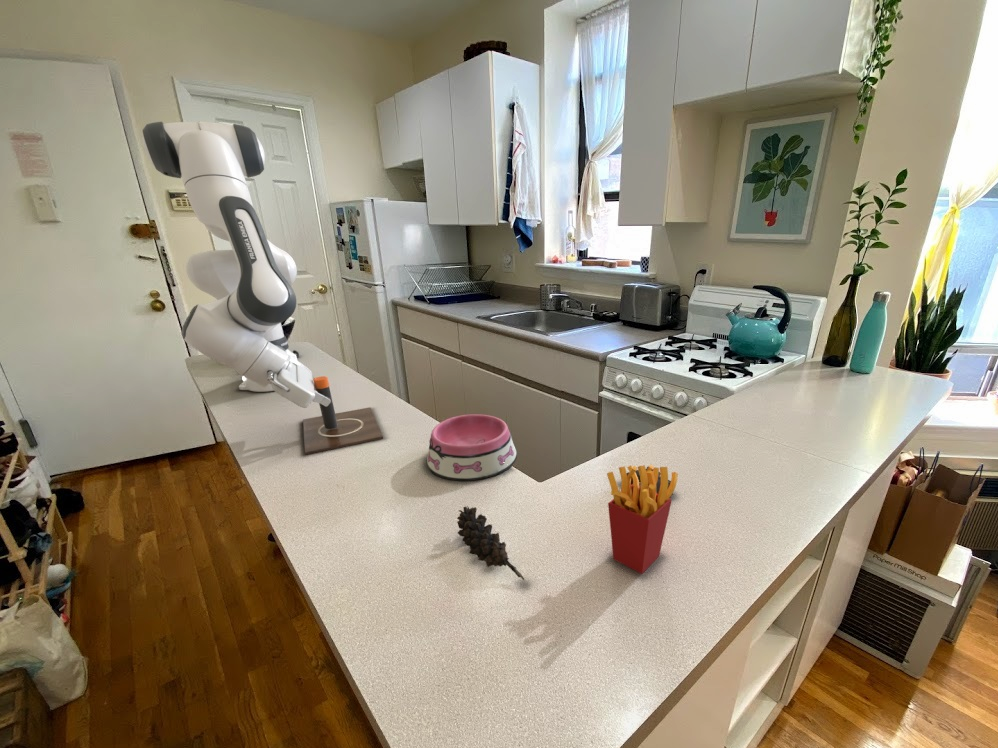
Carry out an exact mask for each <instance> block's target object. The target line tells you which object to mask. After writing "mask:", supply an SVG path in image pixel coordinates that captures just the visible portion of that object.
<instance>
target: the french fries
mask: <svg viewBox="0 0 998 748" xmlns="http://www.w3.org/2000/svg"><path fill="white" fill-rule="evenodd" d="M647 467H648V466H647ZM627 469H628V472H629V474H628V476H627V473H628V472H627ZM627 469H626V466H625V465H624V466H620V467H618V471H619V475H620V479H621V483H620V485H621V488H620V490H619V487H618V484H617V480H616V477H615V474H614V471H609V472H607V473H606V476H607V479H608V483H609V486H610V488H611V493H610V495H611V496H613V497H612V498H613V499H611V500H610V501H609V502H608V503H607V504H608V505H607V507H608V516H609V517H608V518H609V527H610V528H609V529H610V538H611V548H612V559H613V560H615V561H616V562H618V563H620V564H622V565H623V566H626V567H627V568H630V569H631V570H633V571H635V572H637V573H639V574H641V575H643V574H644V573H645V572H646V571H647V569H648V568H650V566H651V565H652V564H653V563H654V562H655V561H656V560H657V559H658V558H659V557H660V554H661V550H662V545H663V540H664V536H665V532H666V528H667V523H668V519H669V515H670V510H671V506H672V501H673V499H671V496H673V495H672V493H673V494H674V491H675V489H676V488H677V484H678V483H677V482H678V473H677V472H676V471H673V472H671V477H670V478H671V479H670V481H671V483H670V486H669V488H668V480H669V471H668V466H660V467H655V466H654V465H652V464H650V465H649V467H648V469H647V468H646V466H645V465H644V464H643V465H638V466H635V465H633V466H632V465H629V466H627ZM646 469H647V470H646ZM652 469H653V471H651V470H652ZM636 470H638V471H639V474H640V480H641V482H640V483H639V480H638V477H637V475H636V473H635V472H636ZM659 472H660V475H661V485H660V490H659V494H657V493H656V483H657V481H658V474H659ZM631 477H632V478H633V484H632V485H631ZM648 482H649V486H648ZM667 488H668V489H667Z"/></svg>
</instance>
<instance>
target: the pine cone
mask: <svg viewBox="0 0 998 748" xmlns="http://www.w3.org/2000/svg"><path fill="white" fill-rule="evenodd" d="M462 509H463V511H462V510H461V509H458V512H459V515H458V516H457V517H456V519H457V521H456V523H457V527H458V529H459V530H458V531H457V534H458V535H459V536H460V537H462V542H463V544H464V545H465V546H467V547H469V549H470V550H469V554H470V555H475V556H477V559H478V561H481V562H485V564H486V567H487V568H489V567H492V566H494V567H502V566H504V567H508V568H509V569H510V570H511V571H512V572H513V573H514V574H515V576H517V578H521V579H522V580H523V581H525V577H524V575H522V573H521V572H520V571H519V570H518V569H517V567H516V566H514V564H512V563H511V562H510V561H509V559H510V557H508V555H509V554H508V552H507V551H506V547H507V544H506V541H503V542H501V540H500V533H499V532H497V533H492V530H493V524H487V525H486V523H487V520H488V518H487V517H486V516H485V515H484V514H482V513H480V514H478V515H477V507H474V506H472V507H471V508H470V507H469V505H467V506H463V508H462Z"/></svg>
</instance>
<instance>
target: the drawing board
mask: <svg viewBox="0 0 998 748" xmlns="http://www.w3.org/2000/svg"><path fill="white" fill-rule="evenodd" d="M335 415H336V419H337V424H338V426H337V427H336V428H333V429H326V428H325V426H324V422H323V418H322V415H319V416H315V417H310V418H309V417H308V418H303V419H302V427H303V444H304V445H303V446H304V455H305V456H306V455H307V456H308V455H311V454H317V453H321V452H326V451H330V450H331V451H332V450H335V449H341V448H346V447H349V446H354V445H360V444H363V443H369V442H373V441H378V440H382V439H384V435H383V433H382V431H381V429H380V427H379V424H378V422H377V419H376V417H375V414H374V412H373V410H372V407H371V406H370V407H366V408H358V409H354V410H348V411H342V412H335Z"/></svg>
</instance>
